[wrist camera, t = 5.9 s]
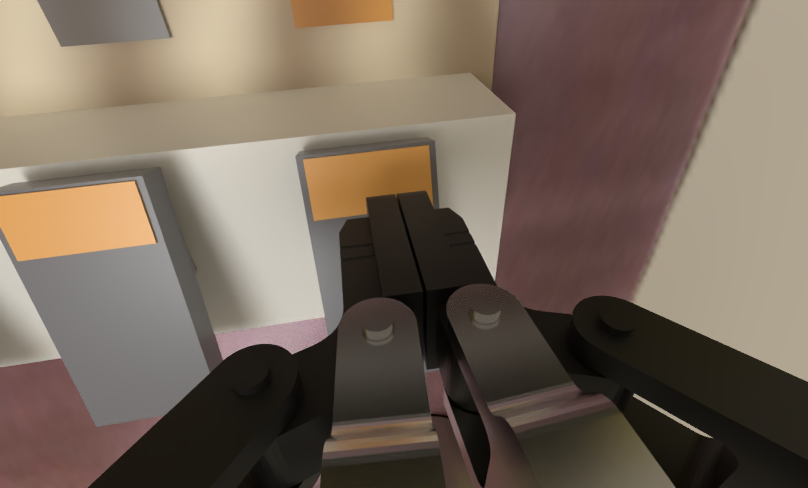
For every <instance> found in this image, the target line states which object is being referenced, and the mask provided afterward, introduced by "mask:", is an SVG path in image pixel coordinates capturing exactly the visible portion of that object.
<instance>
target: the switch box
mask: <svg viewBox="0 0 808 488" xmlns="http://www.w3.org/2000/svg"><path fill="white" fill-rule="evenodd" d="M515 117H516V113H515V112H514V111H513V110H511V109H510V108H509V107H508V106H507V105H506V104H505V103H504V102H503V101H501V100H500V99H499V98H498V97H497V96H496V95H495V94H494V93H493V92H491V91H490V90H489V89H488V88H487V87H486V86H485V85H484V84H483V83H482V82H480V81H479V80H478V79H477V78H476V77H475V76H474V75H473V74H472V73H460V74H449V75H439V76H429V77H418V78H408V79H397V80H387V81H376V82H366V83H355V84H345V85H335V86H324V87H314V88H303V89H293V90H282V91H272V92H261V93H251V94H241V95H230V96H220V97H209V98H199V99H188V100H178V101H167V102H157V103H146V104H136V105H126V106H115V107H105V108H94V109H84V110H73V111H63V112H52V113H42V114H32V115H21V116H11V117H0V187H2V186H5V185H8V184H11V183H19V182H28V181H37V180H46V179H55V178H64V177H73V176H82V175H91V174H100V173H109V172H118V171H127V170H136V169H145V168H154V167H161V170H162V173H163V177H164V180H165V183H166V186H167V189H168V192H169V195H170V198H171V201H172V204H173V207H174V211H175V214H176V217H177V220H178V223H179V226H180V229H181V232H182V235H183V238H184V242H185V245H186V248H187V251H188V254H189V257H190V260H191V263H192V266H193V269H194V273H195V276H196V279H197V282H198V285H199V288H200V291H201V294H202V297H203V300H204V303H205V307H206V310H207V313H208V316H209V319H210V322H211V325H212V328H213V331H214V334H219V333H225V332H231V331H238V330H244V329H251V328H257V327H264V326H270V325H277V324H283V323H290V322H296V321H302V320H309V319H315V318H322V317H325V315H324V309H323V304H322V299H321V293H320V288H319V282H318V277H317V272H316V266H315V261H314V255H313V250H312V244H311V239H310V234H309V228H308V223H307V217H306V212H305V207H304V201H303V196H302V190H301V185H300V180H299V174H298V169H297V163H296V158H295V156H296V155H297V154H298V152H299V151H306V150H315V149H324V148H333V147H342V146H351V145H360V144H369V143H378V142H387V141H396V140H405V139H414V138H423V137H428V138H430V139H432V140H435V148H436V164H437V179H438V195H439V209H440V208H448V207H449V208H450V209H451V210H453V211H454V212H455V213H457V214H458V215H459V216H461V217H462V218H463V220H464V222H465V224H466V226H467V228H468V230H469V234H471V235H472V237H473V239H474V241H475V245H477V247H478V249H479V251H480V253H481V255H482V257H483V259H484V261H485V263H486V265H487V267H488V269H489V271H490V273H491V275H492V277H493V279H494V281H495V275H496V267H497V260H498V252H499V244H500V236H501V228H502V220H503V212H504V204H505V196H506V188H507V180H508V172H509V164H510V157H511V149H512V141H513V133H514V125H515ZM57 358H61V356H60V355H59V353H58V351H57V349H56V347H55V345H54V343H53V341H52V339H51V337H50V335H49V333H48V331H47V329H46V327H45V325H44V323H43V321H42V320H41V318H40V316H39V314H38V312H37V310H36V308H35V306H34V304H33V302H32V300H31V298H30V296H29V294H28V292H27V290H26V288H25V286H24V284H23V283H22V281H21V279H20V277H19V275H18V273H17V271H16V269H15V267H14V265H13V263H12V261H11V259H10V257H9V255H8V253H7V251H6V249H5V248H4V246H3V244H2V242H1V240H0V367H5V366H12V365H18V364H25V363H31V362H38V361H44V360H51V359H57Z"/></svg>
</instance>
